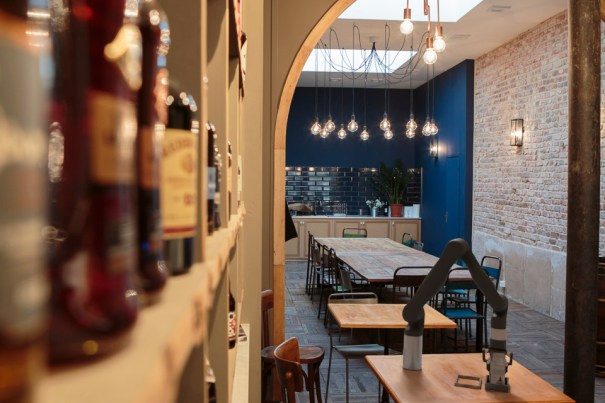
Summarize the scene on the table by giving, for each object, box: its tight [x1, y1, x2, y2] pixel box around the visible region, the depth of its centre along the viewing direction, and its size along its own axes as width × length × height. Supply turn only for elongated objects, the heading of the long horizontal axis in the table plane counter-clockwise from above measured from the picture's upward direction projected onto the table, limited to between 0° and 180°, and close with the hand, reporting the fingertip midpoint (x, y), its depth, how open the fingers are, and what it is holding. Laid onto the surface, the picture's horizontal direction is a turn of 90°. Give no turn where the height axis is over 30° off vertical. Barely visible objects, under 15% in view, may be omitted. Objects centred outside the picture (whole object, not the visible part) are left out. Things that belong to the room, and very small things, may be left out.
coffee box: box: [488, 349, 507, 386], centre depth 262 cm, size 9×6×16 cm
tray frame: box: [454, 373, 483, 390], centre depth 267 cm, size 12×14×1 cm
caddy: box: [484, 374, 510, 394], centre depth 262 cm, size 10×13×3 cm
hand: (496, 372), depth 262 cm, fingers closed on coffee box, 7 cm apart
